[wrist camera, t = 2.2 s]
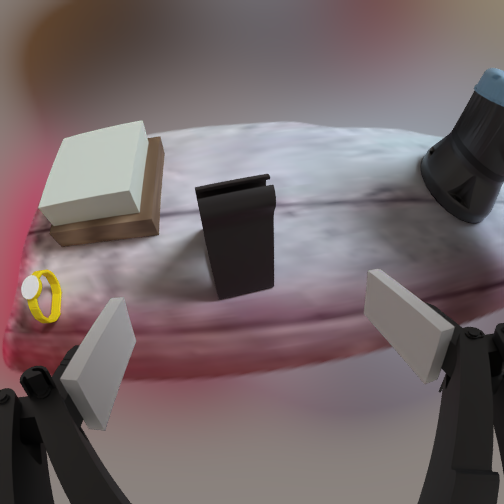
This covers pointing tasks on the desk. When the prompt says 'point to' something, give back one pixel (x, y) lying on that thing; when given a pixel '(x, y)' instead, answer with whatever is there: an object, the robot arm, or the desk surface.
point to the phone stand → (239, 233)
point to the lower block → (123, 224)
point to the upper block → (97, 175)
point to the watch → (33, 291)
